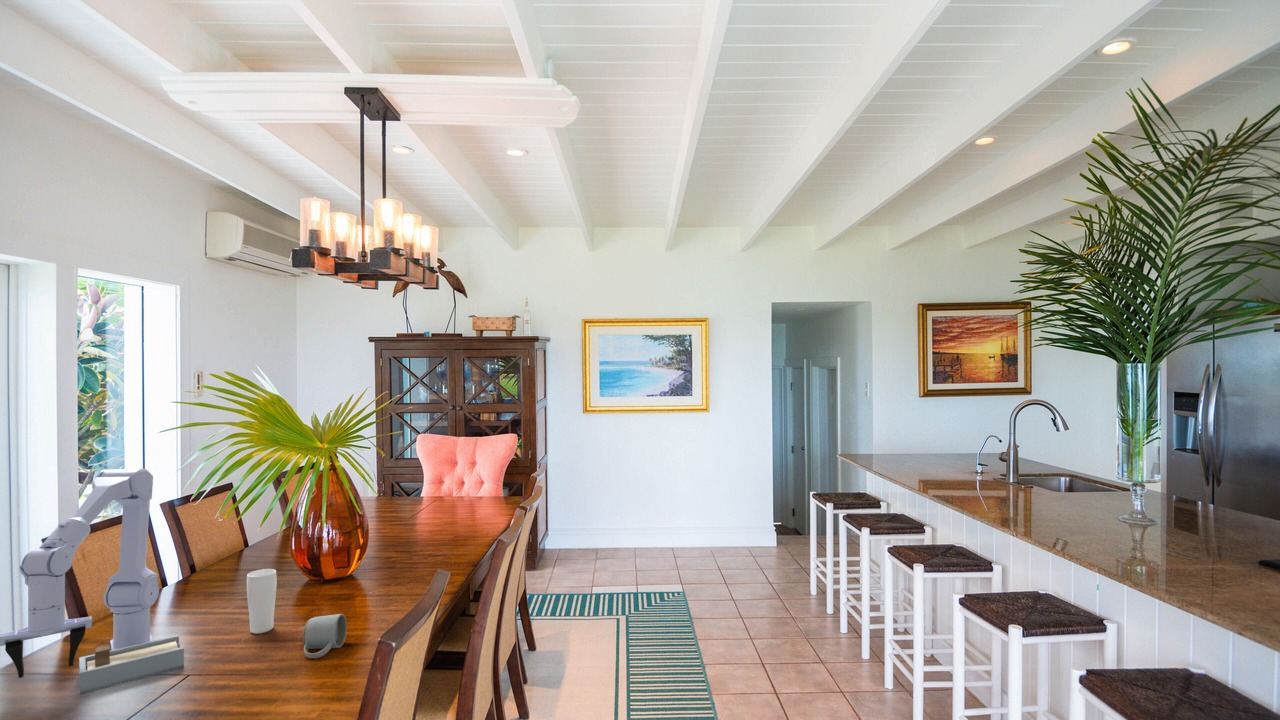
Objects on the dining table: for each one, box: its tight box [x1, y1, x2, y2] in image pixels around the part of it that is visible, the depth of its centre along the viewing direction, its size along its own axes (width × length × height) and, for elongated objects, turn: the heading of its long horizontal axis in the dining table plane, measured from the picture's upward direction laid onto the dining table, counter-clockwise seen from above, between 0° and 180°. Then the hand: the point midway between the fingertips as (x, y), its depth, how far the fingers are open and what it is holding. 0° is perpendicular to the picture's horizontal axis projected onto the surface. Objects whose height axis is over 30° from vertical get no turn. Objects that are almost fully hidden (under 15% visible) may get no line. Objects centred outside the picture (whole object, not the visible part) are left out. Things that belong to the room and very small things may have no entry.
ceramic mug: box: [302, 613, 348, 659], centre depth 156 cm, size 11×8×8 cm
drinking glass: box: [246, 568, 278, 635], centre depth 169 cm, size 7×7×15 cm
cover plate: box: [87, 641, 178, 670], centre depth 146 cm, size 7×16×4 cm, turn 131°
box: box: [78, 634, 185, 695], centre depth 145 cm, size 10×18×4 cm, turn 131°
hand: (46, 670), depth 136 cm, fingers open, 7 cm apart
